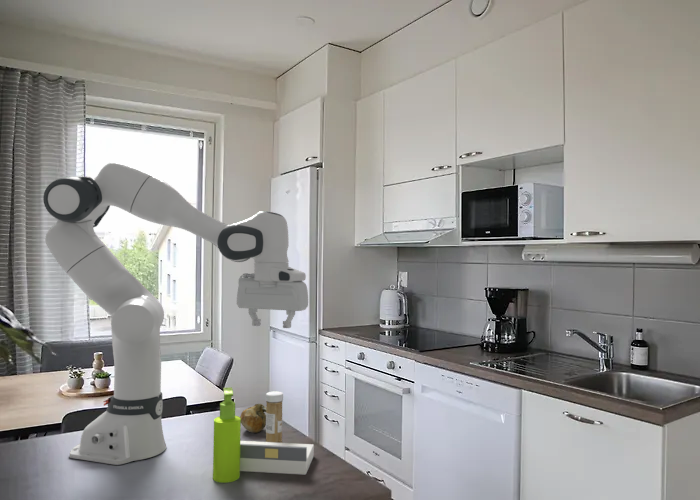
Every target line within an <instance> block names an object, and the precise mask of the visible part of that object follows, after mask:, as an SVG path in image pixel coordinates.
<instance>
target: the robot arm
mask: <svg viewBox="0 0 700 500" xmlns="http://www.w3.org/2000/svg"><path fill="white" fill-rule="evenodd" d="M45 188H46V189H45V190H44V193H43V198H42V199H43V204H44V207H45V209H46V212H48V214H50V215H51V216H52V217H53V218H55V219H56V220H57V221H56V223H54V225H52V226H51V227H50V229H48V231H46V234H45V238H44V239H45V244H46V246H47V248H48V250H49V251H50V253H51V254H52V256H53V258H54V259H55V261H56V263H58V265H59V266H60V267H61V269H62V270H64V272H65V273H66V274H67V275H68V276H69V277H70V278H71V279H72V281H73V282H74V283H75V285H76V286H78V287H79V289H80V290H81V291H82V292H83V293H84V294H85V295H86V296H87V297H88V298H89V299H90V300H92V301H93V302H94V303H95V304H96V305H98V306H99V307H100V308H101V309H102V310H104V311H105V312H106V313H107V314H108V315H110V316H111V320H110V326H111V327H110V328H111V329H110V330H111V344H112V354H113V355H112V356H113V360H114V361H113V362H114V364H113V365H114V370H113V371H114V375H113V377H114V378H113V379H114V380H113V395H112V396H110V397H108V398H107V399H106V400H104V401H103V407H104V406H107V408H106V411H104V412H103V413H101V414H100V415H99V416H97V418H95V419H94V420H93V421H91V422H90V423H89V424H87V426H85V428H84V429H83V431H82V434H81V438H80V442H79V444H77V445H75V446H74V447H73V448H72V449H71V450H70V452H69V458H70V459H76V460H82V461H83V460H84V461H90V462H96V463H100V464H101V463H102V464H108V465H116V466H119V465H124V464H127V463H130V462H133V461H140V460H146V459H149V458H152V457H155V456H158V455H160V454H161V453H163V452H164V451H166V449H167V443H166V441H165V436H164V430H163V425H162V414H163V408H164V407H163V393H162V391H161V390H162V387H161V386H162V358H161V357H162V355H161V335H160V334H161V333H160V332H161V326H162V324H163V322H164V320H165V310H164V306H163V305H162V304H161V302H160V301H158V299H157V297H155V296H154V295H153V294H152V293H151V291H149V290H148V288H146V287H145V286H144V284H142V283H141V282H140V281H139V279H137V278H136V277H135V276H134V275H133V274H132V273H131V272H130V271H129V270H128V269H127V268H126V267H125V266H124V265H123V264H122V262H121V261H120V260H119V259H118V258H117V256H116V255H114V253H113V252H112V251H111V250H110V249H109V248H108V247H107V246H106V244H105V243H104V242H103V241H102V240H101V238H100V237H99V236H98V235H97V234H96V231H95V227H97V226H99V224H100V223H101V221H102V219H103V218H104V217H105V215H106V214H107V213H108V211H109V210H110V207H111V206H112V207H117V208H119V209H121V210H123V211H125V212H128V213H129V214H131V215H134V216H136V217H137V218H140V219H142V220H145V221H147V222H150V223H154V224H158V225H160V226H161V225H162V226H169V227H174V228H176V229H177V228H178V229H181V230H185V231H187V232H189V233H191V234H193V235H194V236H197V237H200V238H201V239H203V240H205V241H207V242H209V243H211V244H213V245H214V246H215V247H216V248H217V249H218V250H219V252H220V254H221V255H222V256H223V257H224V258H226V259H227V260H230V261H232V262H234V263H243V262H246V261H249V260H250V259H253V260H254V263H253V264H254V266H253V267H254V273H242V275H240V276H239V278H238V286H237V293H236V305H237V307H238V308H239V309H248V315H249V317H250V318H251V320H252V321H251V322H252V323H251V325H252V326H253V327H259V326H260V327H261V322H262V320H261V319H262V318H259V317H258V315H257V313H258V310H270V311H271V310H272V311H273V310H274V311H285V312H286V313H285V314H286V315H287V317H286V319H285V320H282V328H283V329H290V328H292V321H293V319H294V318H295V315H296V312H300V311H301V312H302V311H306V310H307V308H308V306H309V295H308V294H309V293H308V292H309V291H308V285H307V284H306V282H305V280H306V277H307V275H306V273H305V272H303V271H302V270H299V269H295V268H293V267H290V266H289V262H290V261H289V257H288V249H289V247H290V246H289V227H288V222H287V219H286V218H285V217H284V216H283V215H282V214H280V213H277V212H273V211H265V210H261V211H258V212H256V213H255V214H254V215H252V216H250V217H248V218H246V219H244V220H242V221H239V222H236V223H232V224H226V223H224V222H222V221H220V220H218V219H216V218H215V217H212V216H211V215H208V214H207V213H204V212H203V211H201V210H199V209H198V208H196V207H195V206H193V205H192V204H191V203H190V202H189V201H187V199H186V198H185V197H184V196H183V195H182V194H181V193H180V192H179V191H177V190H176V189H175V188H174V187H172V185H170V184H168V183H167V182H165V181H164V180H162V179H161V178H159V177H158V176H155V175H154V174H151V173H150V172H147V171H146V170H143V169H141V168H138V167H135V166H132V165H131V164H128V163H125V162H120V161H111V162H109V163H107V164H106V165H104V166H103V167H102V168H101V169H100V171H99V172H98V174H97V175H96V176H95V177H94V178H92V177H91V176H64V177H60V178H57V179H55V180H53V181H51V182H50V183H49V185H47V186H46V187H45Z"/></svg>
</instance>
